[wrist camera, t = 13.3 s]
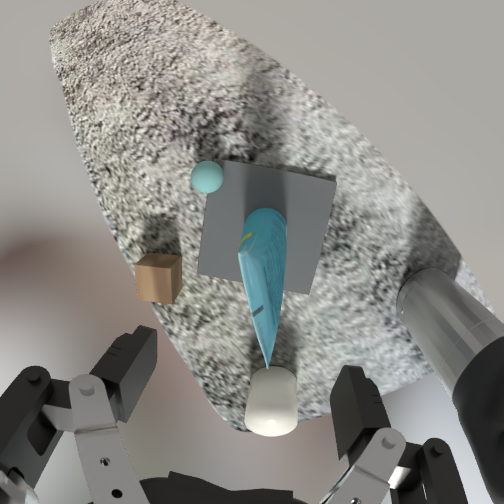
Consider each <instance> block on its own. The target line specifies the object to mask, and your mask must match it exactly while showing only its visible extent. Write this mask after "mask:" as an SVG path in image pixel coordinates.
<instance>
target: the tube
mask: <svg viewBox="0 0 504 504" xmlns="http://www.w3.org/2000/svg"><path fill="white" fill-rule="evenodd" d="M286 254H287V224H286V221H285V219H284V217H283V216H282V215H281V214H280V213H279V212H278V211H276V210H274V209H271V208H260V209H257V210H255V211H253V212H252V213H251V214H250V215H249V216H248V217H247V219H246V221H245V224H244V228H243V232H242V235H241V240H240V244H239V249H238V259H239V265H240V269H241V273H242V278H243V282H244V287H245V291H246V296H247V299H248V304H249V308H250V312H251V316H252V320H253V324H254V328H255V331H256V334H257V338H258V341H259V344H260V347H261V350H262V353H263V355H264V359H265V362H266V367H267V369H269V363H270V359H271V355H272V351H273V348H274V344H275V339H276V334H277V329H278V323H279V318H280V311H281V304H282V296H283V288H284V278H285V267H286Z"/></svg>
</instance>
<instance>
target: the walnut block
mask: <svg viewBox="0 0 504 504" xmlns="http://www.w3.org/2000/svg"><path fill="white" fill-rule="evenodd" d="M135 277H136V288H137V298H138V300H146V301H152V302H159V303H166V304H173V302H174V301H175V299H176V297H177V296H178V294H179V293H180V291H181V290H182V256H180V255H169V254H159V253H148V254H146V255H145V256H144V257H143V258H142V259H141V260H139V261H138V262H137V263H136V264H135Z"/></svg>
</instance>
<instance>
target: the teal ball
mask: <svg viewBox="0 0 504 504" xmlns="http://www.w3.org/2000/svg"><path fill="white" fill-rule="evenodd" d="M223 180H224V174H223V170H222V168H221V167H220V166H219V165H218V164H217V163H215V162H213V161H202V162H200V163H198V164H197V165H196V166H195V167H194V168H193V170H192V173H191V181H192V184H193V186H194V187H195V188H196V189H197V190H198V191H200V192H203V193H211V192H214V191H216V190H217V189H219V187H220V186H221V185H222V183H223Z"/></svg>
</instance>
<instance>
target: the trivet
mask: <svg viewBox="0 0 504 504" xmlns="http://www.w3.org/2000/svg"><path fill="white" fill-rule="evenodd" d="M213 162H215V163H217V164H218V165H219V166H220V167H221V168H222V170H223V174H224V180H223V183H222V185H221V186H220V187H219V189H217V190H216V191H214V192H211V193H208V196H207V203H206V210H205V217H204V224H203V231H202V239H201V247H200V254H199V263H198V271H197V274H202V275H207V276H212V277H217V278H222V279H227V280H232V281H237V282H242V283H244V282H243V278H242V273H241V269H240V265H239V259H238V249H239V244H240V240H241V235H242V232H243V228H244V224H245V221H246V219H247V217H248V216H249V215H250V214H251V213H252V212H253V211H255V210H257V209H260V208H271V209H274V210H276V211H278V212H279V213H280V214H281V215H282V216H283V217H284V219H285V221H286V224H287V254H286V267H285V278H284V288H283V290H285V291H291V292H296V293H302V294H308V295H309V293H310V289H311V286H312V282H313V278H314V275H315V271H316V267H317V264H318V260H319V256H320V252H321V248H322V244H323V241H324V237H325V233H326V228H327V224H328V220H329V216H330V212H331V208H332V203H333V199H334V194H335V190H336V185H337V182H334V181H330V180H326V179H321V178H317V177H313V176H308V175H304V174H299V173H294V172H289V171H284V170H279V169H274V168H269V167H264V166H258V165H253V164H247V163H241V162H235V161H229V160H223V159H216V158H213Z"/></svg>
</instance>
